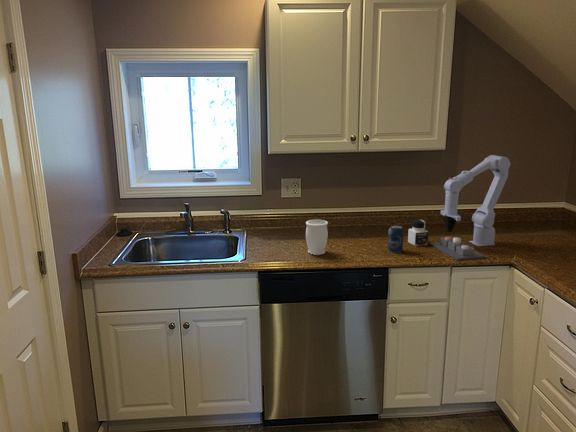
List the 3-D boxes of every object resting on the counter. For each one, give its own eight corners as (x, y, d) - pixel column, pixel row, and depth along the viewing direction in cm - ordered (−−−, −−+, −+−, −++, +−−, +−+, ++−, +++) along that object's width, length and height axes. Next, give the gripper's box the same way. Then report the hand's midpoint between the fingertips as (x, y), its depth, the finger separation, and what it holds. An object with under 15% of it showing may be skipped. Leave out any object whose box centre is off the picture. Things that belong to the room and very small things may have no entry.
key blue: (466, 251, 209) (466, 244, 208) (470, 253, 205) (471, 247, 205) (459, 251, 208) (459, 245, 207) (463, 254, 205) (464, 247, 204)
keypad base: (454, 242, 227) (455, 234, 226) (484, 257, 204) (485, 249, 203) (429, 244, 224) (430, 236, 223) (457, 260, 201) (457, 251, 200)
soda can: (387, 252, 212) (389, 228, 209) (387, 248, 219) (388, 224, 216) (403, 253, 211) (404, 229, 208) (401, 249, 217) (403, 225, 215)
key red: (449, 242, 222) (449, 236, 221) (453, 244, 219) (454, 238, 218) (442, 242, 221) (443, 236, 221) (446, 244, 218) (447, 239, 217)
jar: (305, 248, 219) (305, 219, 215) (326, 248, 219) (327, 219, 215) (305, 256, 209) (305, 225, 205) (328, 256, 209) (328, 225, 205)
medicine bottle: (415, 246, 221) (416, 222, 218) (407, 242, 228) (408, 219, 225) (427, 244, 223) (429, 221, 220) (420, 240, 230) (421, 218, 227)
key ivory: (457, 243, 215) (458, 237, 214) (462, 245, 212) (462, 239, 211) (450, 243, 214) (451, 237, 214) (455, 245, 211) (455, 239, 210)
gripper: (435, 201, 221) (434, 228, 225) (452, 208, 208) (450, 236, 211) (448, 201, 223) (446, 227, 226) (465, 207, 209) (463, 235, 212)
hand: (449, 231), depth 219 cm, fingers closed
